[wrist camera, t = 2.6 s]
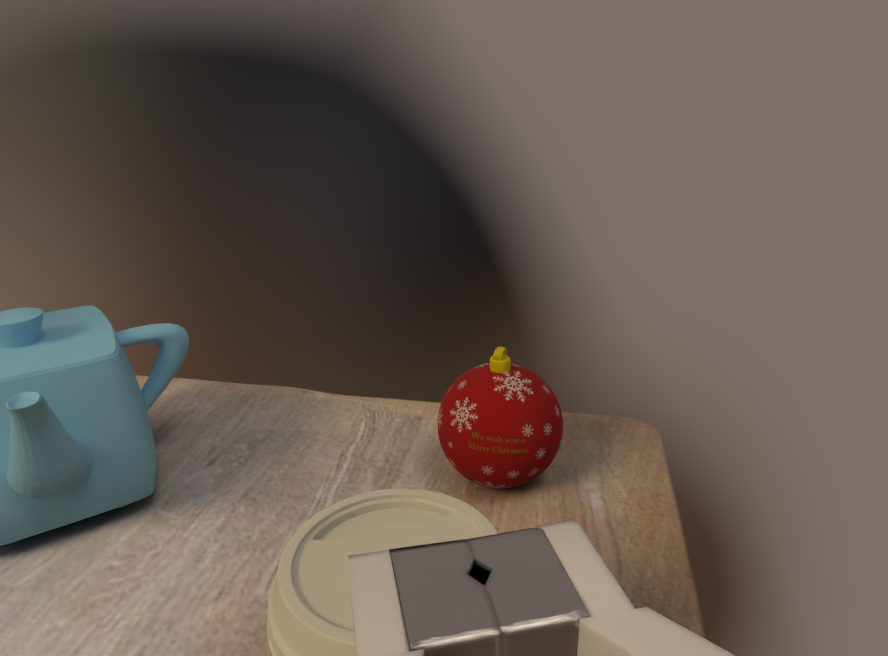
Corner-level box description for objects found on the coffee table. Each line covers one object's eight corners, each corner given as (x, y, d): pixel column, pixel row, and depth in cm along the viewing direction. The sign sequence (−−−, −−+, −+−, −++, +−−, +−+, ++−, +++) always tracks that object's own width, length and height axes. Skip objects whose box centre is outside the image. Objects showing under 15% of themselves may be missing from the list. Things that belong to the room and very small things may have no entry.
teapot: (-147, 544, 41) (-233, 349, 36) (66, 420, 55) (25, 269, 50) (79, 606, 35) (14, 387, 31) (249, 451, 50) (223, 286, 45)
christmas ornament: (419, 497, 44) (412, 363, 40) (466, 436, 51) (465, 319, 48) (540, 528, 41) (545, 385, 37) (573, 458, 48) (580, 334, 44)
